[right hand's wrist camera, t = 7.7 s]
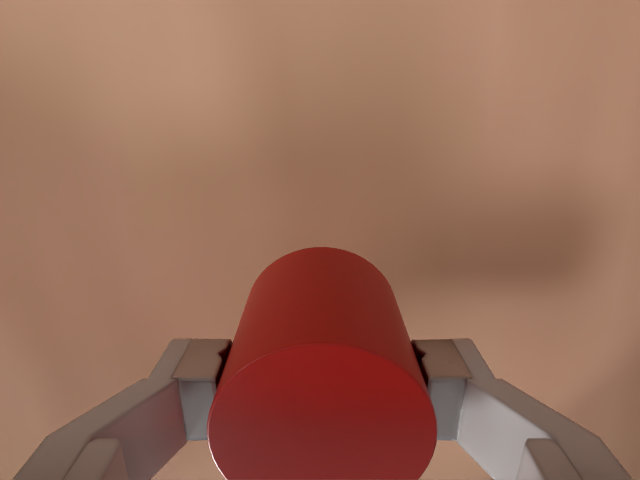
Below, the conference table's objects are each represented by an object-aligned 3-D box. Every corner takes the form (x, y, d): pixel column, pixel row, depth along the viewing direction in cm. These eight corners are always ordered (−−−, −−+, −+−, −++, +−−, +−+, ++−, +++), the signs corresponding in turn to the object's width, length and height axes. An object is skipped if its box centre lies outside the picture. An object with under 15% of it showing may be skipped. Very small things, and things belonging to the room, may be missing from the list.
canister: (317, 399, 14) (315, 549, 9) (215, 311, 13) (158, 434, 8) (426, 320, 13) (484, 446, 8) (327, 214, 11) (330, 296, 7)
